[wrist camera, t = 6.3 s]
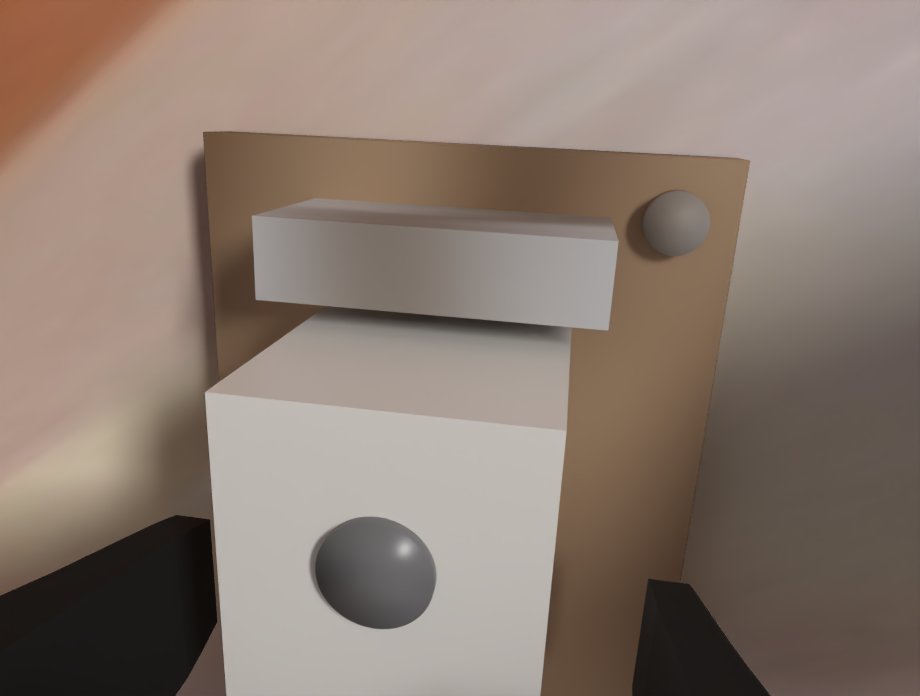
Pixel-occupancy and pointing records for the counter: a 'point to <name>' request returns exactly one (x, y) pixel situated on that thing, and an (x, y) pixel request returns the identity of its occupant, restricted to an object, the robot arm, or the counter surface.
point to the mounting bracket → (514, 318)
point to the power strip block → (389, 505)
